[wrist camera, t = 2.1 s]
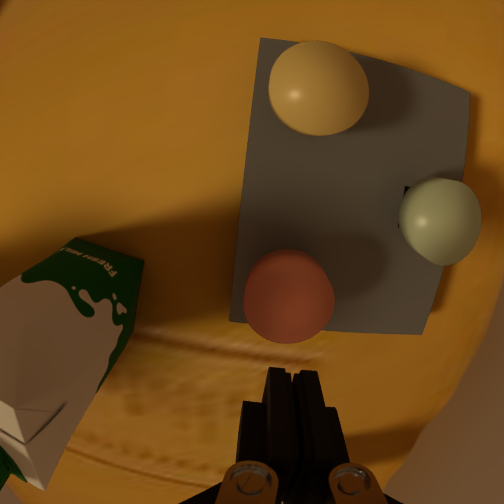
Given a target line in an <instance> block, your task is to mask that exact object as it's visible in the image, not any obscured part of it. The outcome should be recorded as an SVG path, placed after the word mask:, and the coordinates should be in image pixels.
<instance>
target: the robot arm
mask: <svg viewBox="0 0 504 504" xmlns="http://www.w3.org/2000/svg"><path fill="white" fill-rule="evenodd" d="M282 501H283V504H403V503H401V502H398V501H397V500H395V499H393V498H391V497H390V496H388V495H386V494H384V493H383V492H382V490H381V488H380V486H379V484H378V482H377V480H376V478H375V476H374V474H373V473H372V472H371V471H370V470H369V469H368V468H366V467H365V466H362V465H360V464H356V463H350V461H349V457H348V452H347V448H346V444H345V440H344V436H343V433H342V429H341V425H340V421H339V417H338V413H337V410H336V408H335V407H325V403H324V398H323V394H322V390H321V385H320V381H319V377H318V373H317V371H311V370H301V371H300V373H299V374H297V373H295V374H294V377H293V380H291V373H286V372H285V368H275V367H269V369H268V373H267V378H266V383H265V388H264V393H263V398H262V403H260V402H250V401H243V404H242V410H241V417H240V424H239V432H238V442H237V453H236V463H235V464H233V465H232V466H231V467H230V468H228V470H227V471H226V473H225V475H224V478H223V481H222V482H220V483H218V484H217V485H215V486H213V487H211V488H209V489H207V490H205V491H203V492H201V493H199V494H197V495H195V496H193V497H191V498H189V499H187V500H185V501H183V502H181V503H179V504H282Z"/></svg>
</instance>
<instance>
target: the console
mask: <svg viewBox="0 0 504 504" xmlns="http://www.w3.org/2000/svg"><path fill="white" fill-rule="evenodd" d="M296 44H299V42H293V41H285V40H277V39H269V38H260V45H259V53H258V60H257V68H256V76H255V85H254V93H253V101H252V109H251V118H250V126H249V135H248V143H247V152H246V161H245V170H244V179H243V188H242V197H241V206H240V215H239V225H238V234H237V244H236V254H235V264H234V274H233V284H232V294H231V304H230V315H229V321H231V322H239V323H248V321H247V319H246V317H245V313H244V293H245V284H246V279H247V276H248V273H249V271H250V269H251V268H252V266H253V265H254V264H255V263H256V262H257V261H258V260H259V259H260V258H261V257H263V256H264V255H265V254H268V253H270V252H273V251H276V250H280V249H295V250H299V251H303V252H305V253H307V254H309V255H310V256H312V257H313V258H315V259H316V260H317V261H318V262H319V264H320V265H321V267H322V268H323V270H324V272H325V274H326V276H327V278H328V280H329V282H330V284H331V286H332V288H333V292H334V297H335V304H334V310H333V313H332V316H331V318H330V320H329V321H328V323H327V324H326V326H325V327H324V328H323V329H322V330H326V331H341V332H358V333H379V334H411V335H422V333H423V330H424V328H425V325H426V322H427V319H428V316H429V313H430V311H431V308H432V305H433V301H434V298H435V295H436V292H437V289H438V286H439V282H440V279H441V275H442V272H443V268H444V266H442V265H436V264H434V263H432V262H430V261H429V260H427V259H426V258H425V257H423V256H422V255H420V254H419V253H418V252H416V251H415V250H413V249H412V248H411V247H410V246H409V245H408V244H407V243H406V242H405V240H404V239H403V237H402V234H401V232H400V228H399V220H398V219H399V208H400V204H401V202H402V199H403V195H404V189H405V186H409V187H411V186H412V185H413V184H414V183H415V182H417V181H418V180H420V179H422V178H425V177H430V176H434V177H440V178H445V179H450V180H455V181H459V182H462V179H463V172H464V165H465V157H466V148H467V138H468V126H469V110H470V92H468V91H466V90H464V89H462V88H459V87H457V86H454V85H452V84H450V83H447V82H445V81H442V80H439V79H437V78H434V77H431V76H429V75H426V74H423V73H420V72H417V71H414V70H411V69H408V68H405V67H402V66H399V65H396V64H392V63H389V62H386V61H382V60H379V59H375V58H371V57H367V56H363V55H359V54H355V53H351V52H348V53H350V54H351V55H352V56H353V57H354V58H355V59H356V60H357V61H358V63H359V64H360V65H361V67H362V69H363V70H364V72H365V75H366V77H367V81H368V86H369V99H368V104H367V107H366V109H365V111H364V113H363V115H362V116H361V118H360V119H359V120H358V121H357V122H356V123H355V124H354V125H353V126H351V127H350V128H348V129H346V130H344V131H342V132H339V133H335V134H331V135H327V136H322V137H309V136H304V135H301V134H298V133H296V132H294V131H292V130H290V129H289V128H287V127H286V126H285V125H283V124H282V123H281V122H280V121H279V119H278V118H277V117H276V115H275V114H274V112H273V110H272V108H271V105H270V102H269V96H268V88H269V80H270V74H271V70H272V68H273V65H274V64H275V62H276V60H277V59H278V57H279V56H280V55H281V54H282V53H283V52H284V51H286V50H287V49H288V48H290V47H292V46H294V45H296ZM248 324H249V323H248Z"/></svg>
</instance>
